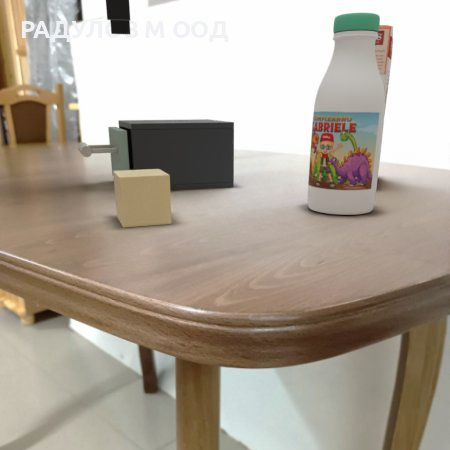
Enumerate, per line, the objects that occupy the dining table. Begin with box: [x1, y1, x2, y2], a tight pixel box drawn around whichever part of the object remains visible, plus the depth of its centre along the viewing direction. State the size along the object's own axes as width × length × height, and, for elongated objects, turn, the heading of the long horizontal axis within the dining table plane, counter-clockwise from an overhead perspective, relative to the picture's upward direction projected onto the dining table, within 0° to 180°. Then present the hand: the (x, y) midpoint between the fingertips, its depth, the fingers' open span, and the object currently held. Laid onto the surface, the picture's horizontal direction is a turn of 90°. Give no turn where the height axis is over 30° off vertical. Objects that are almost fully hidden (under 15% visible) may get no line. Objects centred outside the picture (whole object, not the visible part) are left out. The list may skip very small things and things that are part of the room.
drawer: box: [77, 126, 133, 176], centre depth 73 cm, size 18×11×7 cm, turn 109°
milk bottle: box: [307, 12, 386, 216], centre depth 54 cm, size 8×8×20 cm
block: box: [112, 169, 173, 228], centre depth 51 cm, size 5×5×5 cm
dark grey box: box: [118, 118, 235, 192], centre depth 74 cm, size 15×13×9 cm
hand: (120, 27), depth 64 cm, fingers open, 13 cm apart
